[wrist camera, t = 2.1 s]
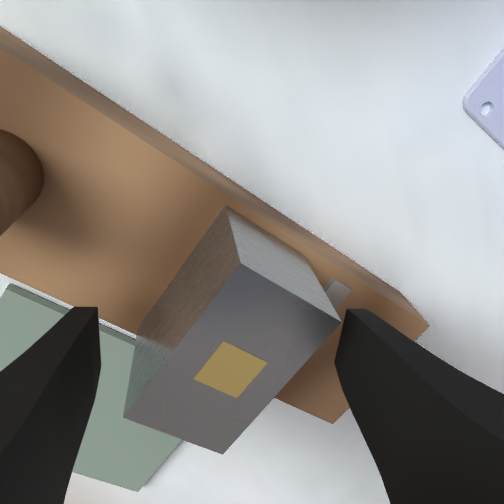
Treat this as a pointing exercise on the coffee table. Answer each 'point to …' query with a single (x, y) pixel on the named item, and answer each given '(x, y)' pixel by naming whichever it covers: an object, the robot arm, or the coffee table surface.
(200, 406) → the grey rectangular block
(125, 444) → the mat
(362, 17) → the coffee table surface
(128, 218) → the plane body
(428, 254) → the coffee table surface
